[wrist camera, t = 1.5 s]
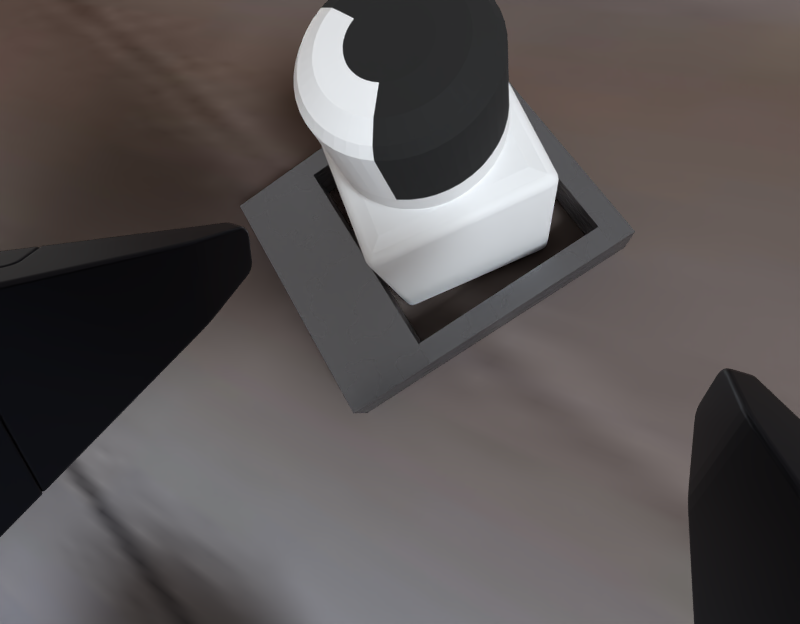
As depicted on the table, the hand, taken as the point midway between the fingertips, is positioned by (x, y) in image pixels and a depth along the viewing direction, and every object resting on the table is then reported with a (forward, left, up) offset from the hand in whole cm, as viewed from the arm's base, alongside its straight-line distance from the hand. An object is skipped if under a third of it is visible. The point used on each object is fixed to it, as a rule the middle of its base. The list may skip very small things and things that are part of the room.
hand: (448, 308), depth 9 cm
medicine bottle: (+3, +7, -14) cm, 16 cm away
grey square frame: (+1, +7, -14) cm, 16 cm away
